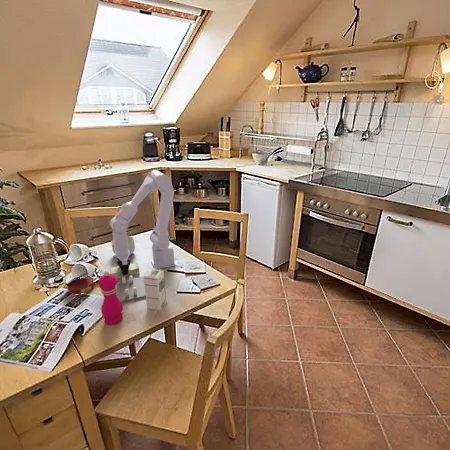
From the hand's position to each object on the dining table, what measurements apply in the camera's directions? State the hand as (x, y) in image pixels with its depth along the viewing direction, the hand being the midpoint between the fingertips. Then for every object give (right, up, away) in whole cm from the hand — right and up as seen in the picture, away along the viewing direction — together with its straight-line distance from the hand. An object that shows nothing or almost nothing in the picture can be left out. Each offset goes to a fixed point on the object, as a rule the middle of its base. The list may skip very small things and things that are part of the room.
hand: (124, 271), depth 139 cm
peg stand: (+6, -6, -11) cm, 14 cm away
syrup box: (+18, -10, -19) cm, 28 cm away
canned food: (-15, -6, -10) cm, 19 cm away
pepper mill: (+5, -13, -27) cm, 30 cm away
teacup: (-6, +6, +18) cm, 20 cm away
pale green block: (0, -1, +1) cm, 2 cm away
